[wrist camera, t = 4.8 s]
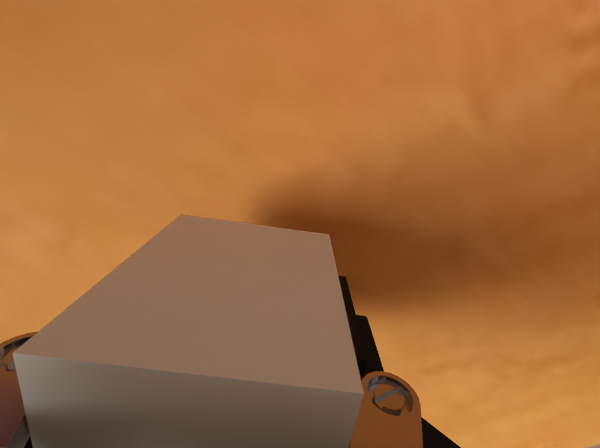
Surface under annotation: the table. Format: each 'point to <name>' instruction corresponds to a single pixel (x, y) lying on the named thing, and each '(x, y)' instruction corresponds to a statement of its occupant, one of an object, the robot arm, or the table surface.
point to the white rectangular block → (200, 347)
